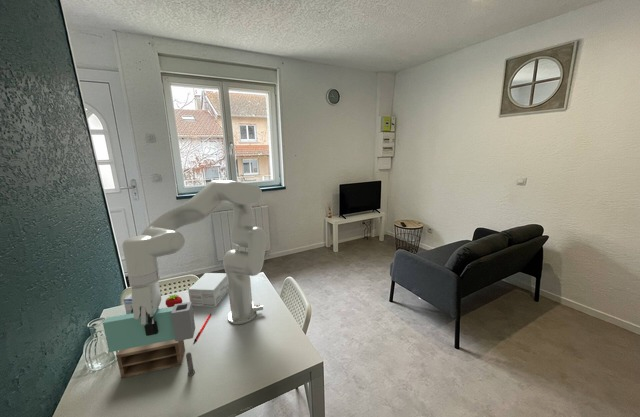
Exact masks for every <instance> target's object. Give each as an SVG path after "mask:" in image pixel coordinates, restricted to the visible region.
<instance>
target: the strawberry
mask: <svg viewBox="0 0 640 417" xmlns="http://www.w3.org/2000/svg"><path fill="white" fill-rule="evenodd" d="M180 303H183V299H182V297H181V296H180V295H179V294H177V293H175V294H171V295H168V298H166V299H165V305H166V308H168V307H174V305H175V304H180Z"/></svg>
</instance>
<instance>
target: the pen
mask: <svg viewBox="0 0 640 417" xmlns="http://www.w3.org/2000/svg"><path fill="white" fill-rule="evenodd" d="M211 316H212V313H210V314H209V315H208V316H207V318H206V319H205V321H204V324H202V327H201V328H200V330H199V331H198V333H197V335H196V336H195V338H194V341H193V345H194V344H195V343H196V342H197V341H198V339H199V338H200V336H201V334H202V332H203V330H204V329H205V327H206V326H207V323H208V322H209V320H210V318H211Z"/></svg>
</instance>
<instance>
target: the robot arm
mask: <svg viewBox="0 0 640 417" xmlns="http://www.w3.org/2000/svg"><path fill="white" fill-rule="evenodd" d="M262 199H263V192H262V189H261V188H260V186H258V185H257V184H254V183H253V184H252V183H247V182H243V181H237V180H236V181H235V180H227V179H224V180H223V179H214V180H212V181H209V182H208V183H207V184H205V185H204V186H203V187H202V188H201V189H200V191H198V192H197V193H196V194H195V195H193V196H192V197H191V198H190V199H189V200H187V202H185V203H183V204H180V205H178V206H177V207H175V208H173V209H171V210H168V211H167V212H165V213H163V214H161V215H160V216H158V217H157V218H156V219H155V220H154V221H152V222H151V223H150V224H149V225H148V226H146V228H145V229H144V230H143V231H142V233H141V235H135V236H131V237H129V238H126V239H124V241H123V242H122V252H123V256H124V262H125V266H126V272H127V277H128V282H129V287H131V293H132V306H133V313H134V319H135V320H137V319H139V317H140V316H141V325H144V327H145V333H146V336H150V335H155V334H158V327H157V321H156V322H155V317H154V314H155V312H156V311H157V309H160V308H159V307H160V304H161V303H162V293H161V288H160V283H159V280H160V279H161V278H160V271H159V270H160V269H159V265H158V264H159V263H158V258H160V257H163V256H164V257H165V256H170V255H173V254H176V253H178V252H180V251H181V250H182V249H183V248H184V246H185V243H186V242H185V241H186V240H185V237H184V235H183V234H182V233H181V232H179V231H178V229H180V228H182V227H184V226H188V225H192V224H196V223H200V222H203V221H205V220H207V218H209V217H210V215H211V214H212V213H213V212H215V210H217V208H219V207H220V205H222V204H223V203H225V204H230V206H231V208H232V210H233V219H232V224H231V230H230V231H231V232H230V242H231V244H232V245H233V246H236V247H240V248H244V249H247V250H243V249H238V248H237V249H236V248H235V249H230V250H228V251H227V252H226V253H224V254H223V255H224V256H223V260H222V264H223V265H222V266H223V268H224V271H225V273H226V275H227V280H228V289H229V290H228V297H229V306H230V311H229V312H228V314H227V321H228V322H229V323H231V324H233V325H243V324H246V323H249V322H251V321H252V320H254V319H255V318H256V316H257V314H258V313H257V312H258V311H263V310H264V305H261V304H260V303H257V304H255V303H254V301H253V296H252V295H253V294H252V282H251V277H255V276H257V275H259V274H260V273H261V271H262V268H263V266H264V263H265V262H264V261H265V254H266V248H267V233H266V232H265V230H264V229H263V228H262V227H259V226H254V218H255V215H254V214H255V213H254V209H253V207H252V206H255V205H258V204H259V203H260V202H261V200H262ZM147 317H151V319H147Z"/></svg>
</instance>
